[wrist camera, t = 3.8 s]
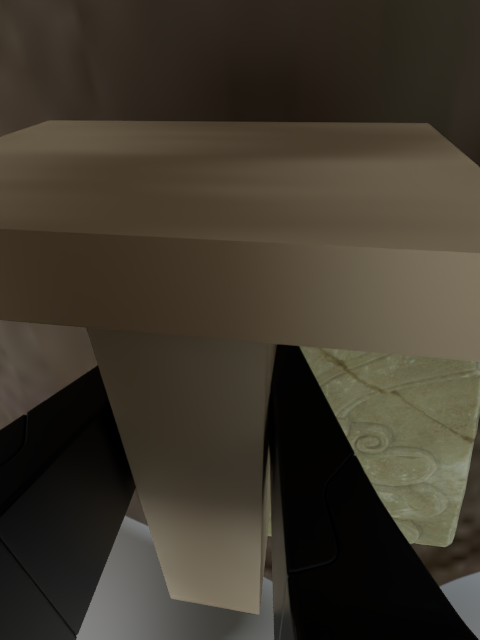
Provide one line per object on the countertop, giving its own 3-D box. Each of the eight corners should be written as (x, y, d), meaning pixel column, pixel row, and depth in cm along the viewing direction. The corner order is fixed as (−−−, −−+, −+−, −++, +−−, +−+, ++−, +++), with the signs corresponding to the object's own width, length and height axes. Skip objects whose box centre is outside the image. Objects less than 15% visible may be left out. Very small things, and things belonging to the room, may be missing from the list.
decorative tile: (481, 267, 18) (512, 312, 15) (443, 509, 29) (457, 561, 26) (113, 302, 22) (83, 342, 20) (202, 499, 33) (192, 543, 31)
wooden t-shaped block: (427, 123, 7) (588, 257, 3) (342, 486, 13) (352, 683, 9) (49, 120, 8) (-240, 216, 4) (142, 459, 14) (73, 626, 10)
